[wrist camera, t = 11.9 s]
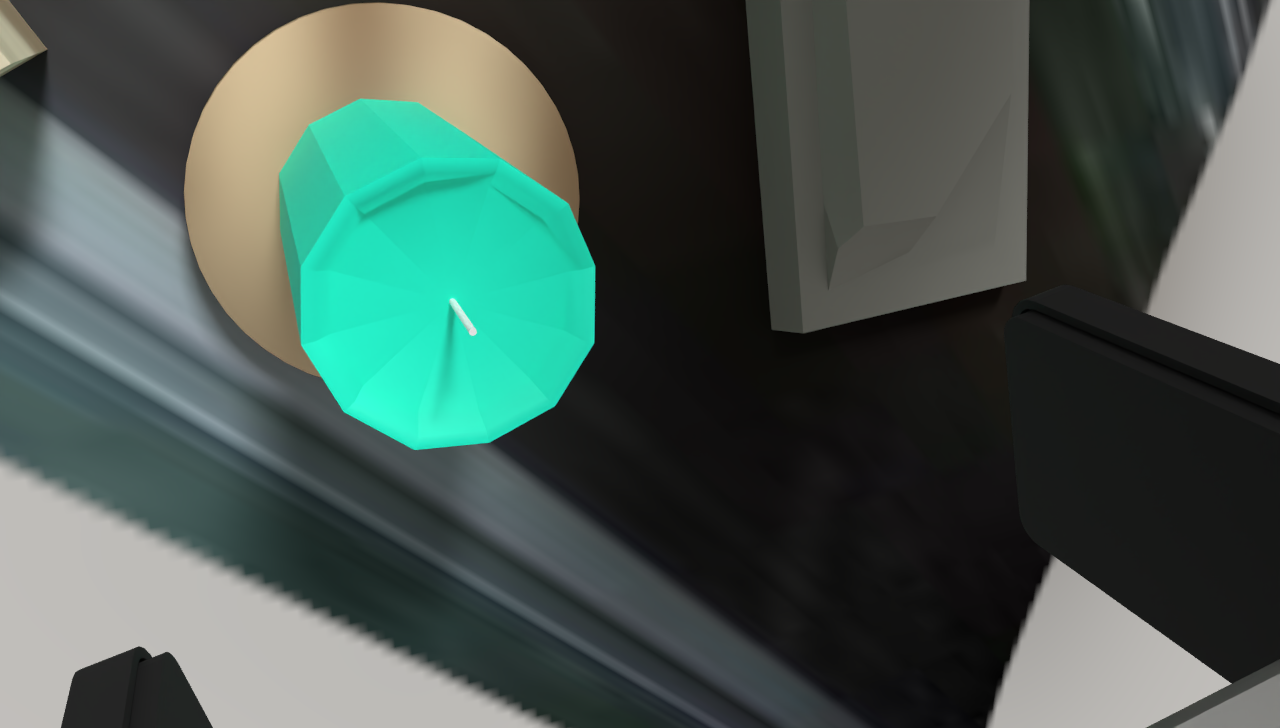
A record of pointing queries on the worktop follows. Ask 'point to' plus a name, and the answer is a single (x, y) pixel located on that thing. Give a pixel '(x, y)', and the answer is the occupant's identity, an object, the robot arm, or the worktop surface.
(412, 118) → the candle
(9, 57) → the maple cube
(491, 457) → the worktop surface
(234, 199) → the disc
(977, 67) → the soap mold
